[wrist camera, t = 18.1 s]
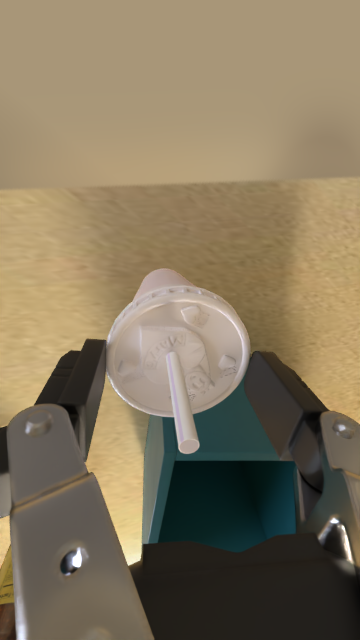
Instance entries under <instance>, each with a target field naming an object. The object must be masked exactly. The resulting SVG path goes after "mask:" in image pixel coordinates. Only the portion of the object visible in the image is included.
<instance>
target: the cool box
mask: <svg viewBox="0 0 360 640" xmlns="http://www.w3.org/2000/svg"><path fill="white" fill-rule="evenodd" d="M250 360H251V358H250ZM250 360H249V363H250ZM248 366H249V364H248ZM247 370H248V368H247ZM247 370H246V373H247ZM246 373H245V375H244V377H243V379H242V380H241V382H240V383H239V385H238V386H237V387H236V388H235V390H234V391H233V392H232V393H231V394H230V395H229V396H227V397H226V398H225V399H224V400H223V401H221V402H220V403H218V404H216V405H215V406H213V407H211V408H209V409H207V410H204V411H202V412H199V413H196V414H193V419H194V423H195V427H196V432H197V436H198V440H199V448H198V449H197V450H196V451H195V452H193V453H189V454H185V453H182V452H180V450H179V447H178V440H177V433H176V426H175V419H174V417H162V416H156V415H152V414H150V418H149V425H148V433H147V440H146V448H145V455H144V478H143V518H142V548H143V544H149V543H164V542H179V541H192V542H196V543H200V544H204V545H208V546H212V547H215V548H219V549H223V550H227V551H231V552H236V553H238V552H242V551H245V550H247V549H249V548H251V547H253V546H255V545H257V544H259V543H261V542H263V541H265V540H267V539H269V538H272V537H274V536H276V535H285V534H295V533H296V519H295V503H294V486H293V471H294V468H295V466H296V464H295V462H294V461H280V459H279V457H278V455H277V454H276V452H275V450H274V448H273V446H272V444H271V442H270V440H269V438H268V436H267V434H266V432H265V430H264V428H263V427H262V425H261V423H260V421H259V419H258V417H257V415H256V413H255V411H254V409H253V407H252V405H251V403H250V402H249V400H248V398H247V396H246V394H245V390H244V380H245V376H246Z"/></svg>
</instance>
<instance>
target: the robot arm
mask: <svg viewBox="0 0 360 640" xmlns="http://www.w3.org/2000/svg"><path fill="white" fill-rule="evenodd" d="M106 345H107V344H106V340H98V339H86V341H85V343H84V345H83V348H82V350H81V351H73V350H71V351H69V352H68V353H67V354H65V355H64V356H62V357H61V358H60V360H59V362H58V364H57V365H56V368H55V369H54V371H53V372H52V374H51V376H50V378H49V379H48V381H47V383H46V385H45V387H44V388H43V390H42V392H41V394H40V395H39V397H38V399H37V401H36V403H35V404H34V406H32V407H29V408H27V409H25V410H23V411H21V412H20V413H18V414H17V415H16V416H15V417H14V418H13V419H12V420H11V421H10V423H9V425H8V426H6V427H3V428H0V518H3V517H6V516H8V515H10V537H11V553H12V570H13V587H14V603H15V620H16V636H17V640H360V424H359V423H357V422H356V421H354V420H353V419H351V418H350V417H348V416H346V415H344V414H341V413H338V412H334V411H329V410H328V409H327V408H326V407H325V405H324V404H323V403H322V402H321V401H320V400H319V399H318V398H317V396H316V395H315V394H314V393H313V392H312V391H311V390H310V388H308V386H307V385H306V384H305V383H304V382H303V381H301V378H300V377H299V376H298V375H297V374H296V373H295V371H293V370H292V369H290V368H289V367H288V366H286V365H285V364H283V363H282V362H281V361H280V360H279V358H278V357H277V356H276V355H275V354H274V353H273V352H266V351H255V352H254V353H253V354H252V357H251V360H250V363H249V366H248V370H247V373H246V376H245V380H244V390H245V394H246V396H247V398H248V400H249V402H250V403H251V405H252V407H253V409H254V411H255V413H256V415H257V417H258V419H259V421H260V423H261V425H262V427H263V428H264V430H265V432H266V434H267V436H268V438H269V440H270V442H271V444H272V446H273V448H274V450H275V452H276V454H277V455H278V457H279V459H280V461H294V462H295V464H296V466H295V468H294V471H293V486H294V503H295V519H296V533H295V534H285V535H276V536H274V537H272V538H269V539H267V540H265V541H263V542H261V543H259V544H257V545H255V546H253V547H251V548H249V549H247V550H245V551H242V552H238V553H236V552H231V551H227V550H223V549H219V548H215V547H212V546H208V545H204V544H200V543H196V542H192V541H179V542H164V543H149V544H143V548H142V554H141V560H140V561H138V562H136V563H134V564H132V565H129V566H128V564H127V562H126V559H125V556H124V553H123V551H122V548H121V545H120V542H119V539H118V537H117V534H116V531H115V528H114V526H113V523H112V520H111V517H110V514H109V512H108V509H107V506H106V503H105V500H104V498H103V495H102V492H101V489H100V487H99V484H98V481H97V479H96V477H95V475H94V474H93V473H92V472H91V473H88V471H87V468H86V465H85V462H86V460H87V456H88V452H89V448H90V444H91V439H92V435H93V431H94V427H95V422H96V418H97V414H98V410H99V406H100V401H101V397H102V393H103V389H104V383H105V374H106Z"/></svg>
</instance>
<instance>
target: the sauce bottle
mask: <svg viewBox="0 0 360 640" xmlns="http://www.w3.org/2000/svg"><path fill="white" fill-rule="evenodd" d="M0 640H17V636H16V620H15V603H14V587H13V570H12V553H11V544H10V547H9V549H8V551H7V554H6V556H5V559H4V561H3V564H2V566H1V569H0Z"/></svg>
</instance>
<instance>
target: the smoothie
mask: <svg viewBox="0 0 360 640" xmlns="http://www.w3.org/2000/svg"><path fill="white" fill-rule="evenodd" d="M250 352H251V347H250V339H249V335H248V332H247V330H246V327H245V325H244V324H243V322H242V320H241V319H240V318H239V316H238V315H237V313H236V311H235V309H234V308H233V307H232V306H231V305H230V304H229V303H227V302H226V301H225V300H224V299H223V298H222V297H221V296H219V295H217V294H215V293H212V292H210V291H208V290H206V289H204V288H199V287H196V286H195V285H193V284H192V283H191V282H190V281H188V280H187V279H186V278H184V277H183V276H182V275H180V274H179V273H178V272H176V271H174V270H171V269H166V268H162V269H157V270H154V271H152V272H151V273H149V274H148V275H147V276H146V277H145V278H144V280H143V282H142V284H141V286H140V288H139V289H138V291H137V293H136V295H135V297H134V299H133V301H132V302H131V303H130V304H128V305H127V306H126V308H125V309H124V310H123V311H122V312H121V313H120V315H119V316H118V317H117V318H116V319H115V321H114V324H113V326H112V328H111V330H110V333H109V335H108V341H107V348H106V372H107V376H108V378H109V381H110V383H111V385H112V387H113V388H114V390H115V391H116V392H117V394H118V395H119V396H120V397H121V398H122V399H123V400H124V401H125V402H127V403H128V404H129V405H131V406H133V407H134V408H136V409H138V410H140V411H143V412H145V413H148V414H152V415H156V416H162V417H174V419H175V426H176V433H177V440H178V447H179V450H180V452H182V453H185V454H189V453H193V452H195V451H196V450H197V449H198V448H199V440H198V436H197V432H196V427H195V423H194V419H193V414H196V413H199V412H202V411H204V410H207V409H209V408H211V407H213V406H215V405H216V404H218V403H220V402H221V401H223V400H224V399H225V398H226V397H227V396H229V395H230V394H231V393H232V392H233V391H234V390H235V388H236V387H237V386H238V385H239V383H240V382H241V380H242V379H243V377H244V375H245V373H246V370H247V368H248V364H249V360H250Z"/></svg>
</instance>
